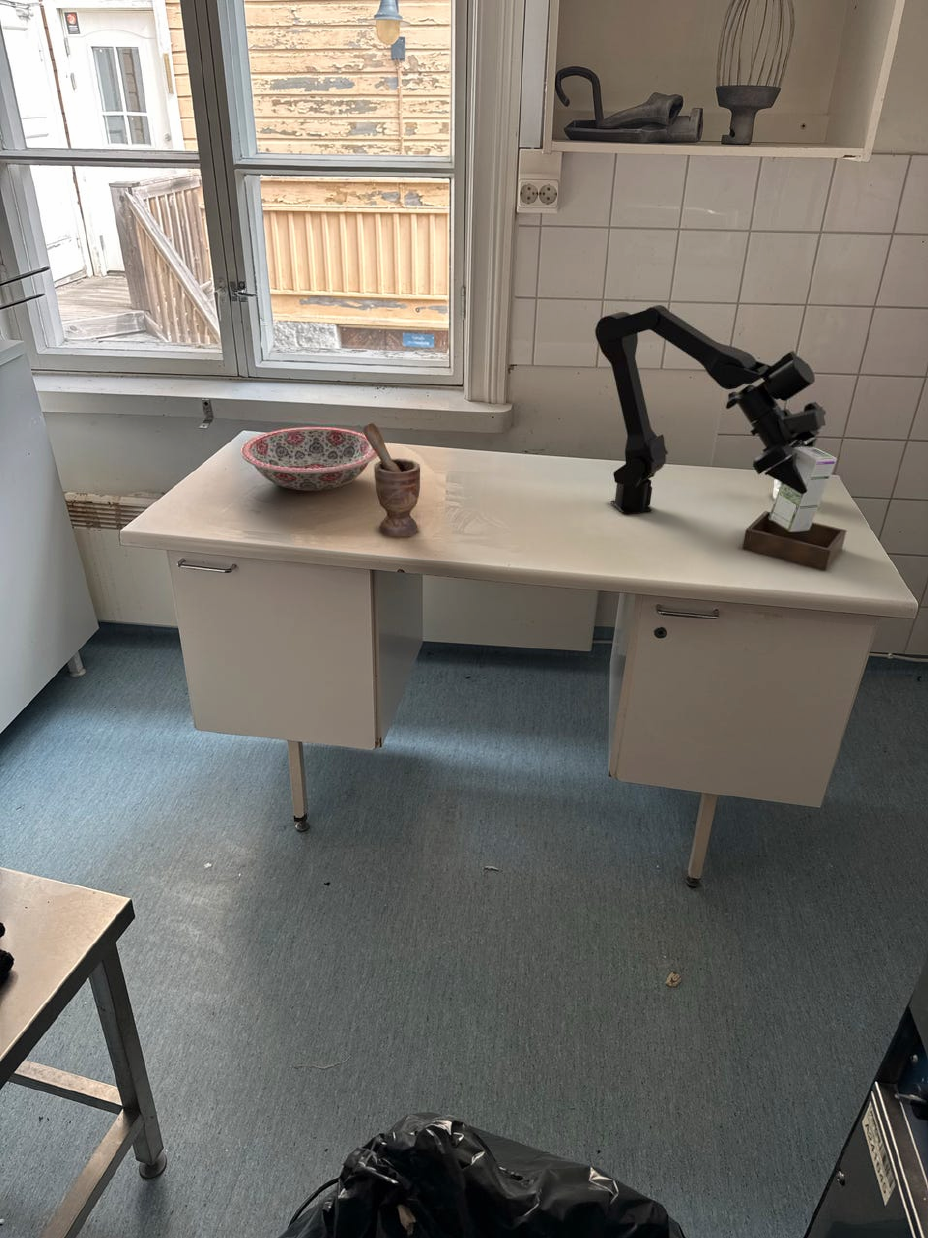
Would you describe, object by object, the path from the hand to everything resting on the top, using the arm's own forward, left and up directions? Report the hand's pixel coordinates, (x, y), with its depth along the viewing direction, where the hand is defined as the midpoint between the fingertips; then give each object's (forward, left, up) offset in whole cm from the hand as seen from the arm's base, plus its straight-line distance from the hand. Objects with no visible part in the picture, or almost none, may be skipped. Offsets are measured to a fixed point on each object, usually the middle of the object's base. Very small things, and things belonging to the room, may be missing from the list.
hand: (811, 487), depth 164 cm
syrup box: (-2, +2, -8) cm, 9 cm away
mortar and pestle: (-71, +30, -13) cm, 79 cm away
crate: (0, +2, -13) cm, 13 cm away
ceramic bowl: (-81, +58, -13) cm, 101 cm away
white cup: (+16, +24, -13) cm, 32 cm away
